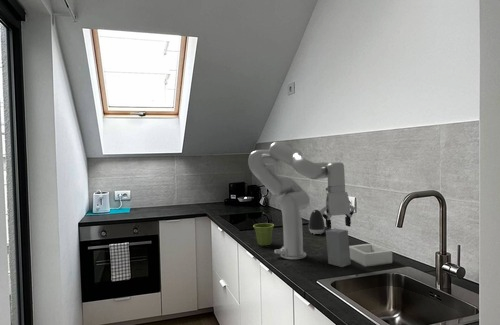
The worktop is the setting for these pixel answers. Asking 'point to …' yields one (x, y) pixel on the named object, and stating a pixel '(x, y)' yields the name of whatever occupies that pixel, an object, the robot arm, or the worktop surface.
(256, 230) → the plant pot
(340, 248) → the skincare box
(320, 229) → the black rounded dome
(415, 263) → the worktop surface
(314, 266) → the worktop surface
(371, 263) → the box
